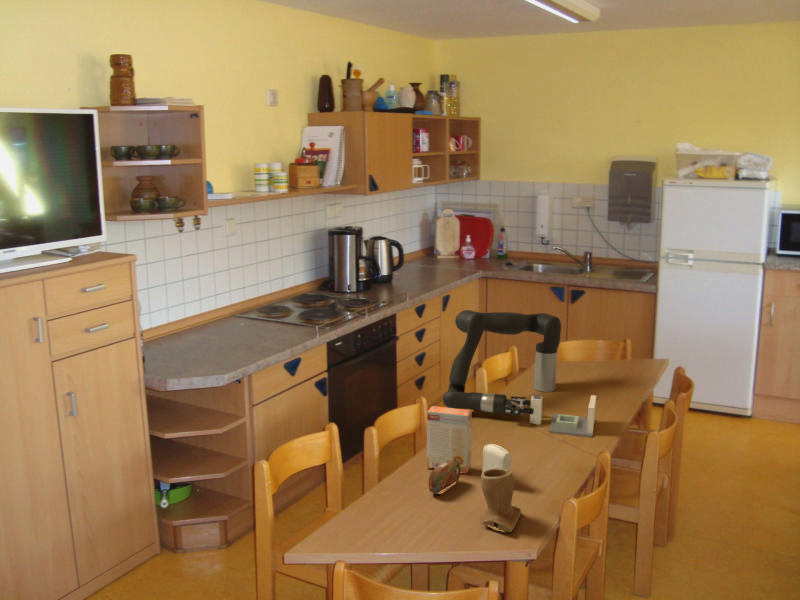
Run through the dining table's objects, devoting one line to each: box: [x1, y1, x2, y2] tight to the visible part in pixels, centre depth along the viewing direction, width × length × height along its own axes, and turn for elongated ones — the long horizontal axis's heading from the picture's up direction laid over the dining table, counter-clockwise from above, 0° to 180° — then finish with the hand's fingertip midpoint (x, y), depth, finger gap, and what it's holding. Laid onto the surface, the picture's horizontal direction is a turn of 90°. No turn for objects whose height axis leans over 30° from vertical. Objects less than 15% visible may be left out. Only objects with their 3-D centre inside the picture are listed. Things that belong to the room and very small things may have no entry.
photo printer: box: [482, 443, 512, 473], centre depth 252 cm, size 10×4×12 cm, turn 39°
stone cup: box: [480, 468, 522, 533], centre depth 227 cm, size 15×12×15 cm
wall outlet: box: [548, 394, 597, 438], centre depth 298 cm, size 18×16×11 cm
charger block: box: [529, 394, 543, 425], centre depth 302 cm, size 4×4×11 cm
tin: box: [428, 460, 461, 495], centre depth 247 cm, size 15×3×8 cm, turn 143°
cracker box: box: [426, 405, 473, 474], centre depth 260 cm, size 14×6×21 cm, turn 71°
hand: (535, 407), depth 302 cm, fingers open, 8 cm apart
